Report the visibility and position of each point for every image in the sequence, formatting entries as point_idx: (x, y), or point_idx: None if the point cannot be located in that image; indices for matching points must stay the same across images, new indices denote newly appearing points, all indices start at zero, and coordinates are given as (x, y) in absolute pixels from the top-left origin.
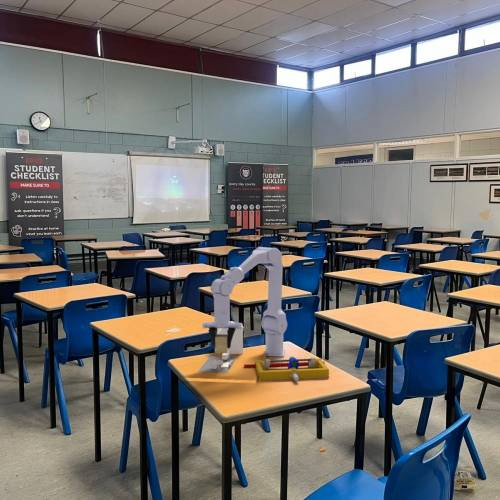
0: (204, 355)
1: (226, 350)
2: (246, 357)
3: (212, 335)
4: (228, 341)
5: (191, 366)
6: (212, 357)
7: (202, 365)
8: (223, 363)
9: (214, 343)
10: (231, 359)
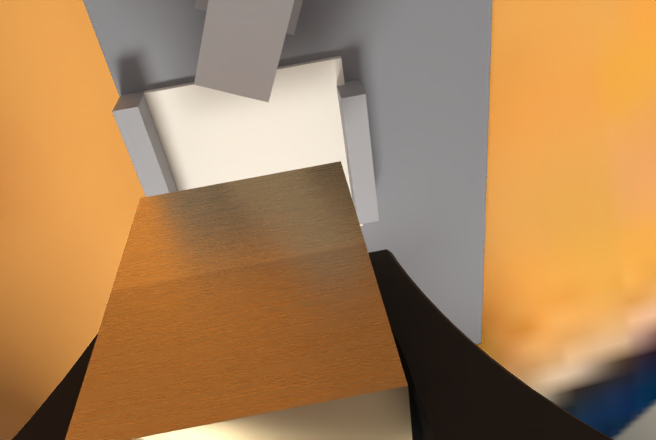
0: (532, 380)
1: (145, 225)
2: None
3: (507, 419)
4: None
5: (608, 95)
6: None
7: (489, 84)
8: None
9: (403, 291)
10: None
